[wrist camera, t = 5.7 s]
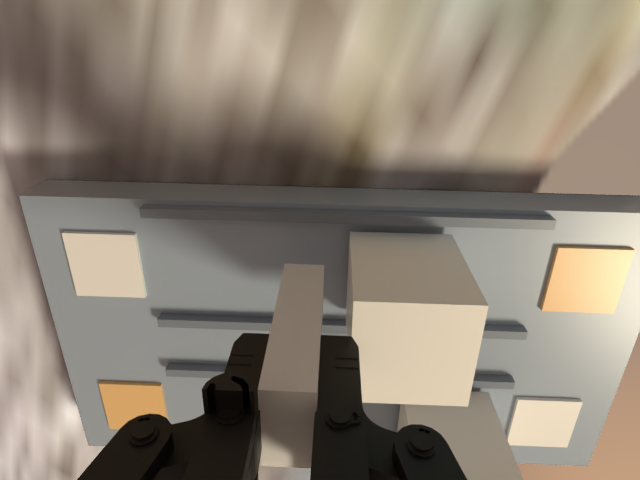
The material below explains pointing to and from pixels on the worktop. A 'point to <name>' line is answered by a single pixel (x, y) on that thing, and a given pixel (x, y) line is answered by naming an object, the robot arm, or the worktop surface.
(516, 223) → the switch bank
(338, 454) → the robot arm
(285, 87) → the worktop surface
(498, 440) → the tab
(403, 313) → the tab
